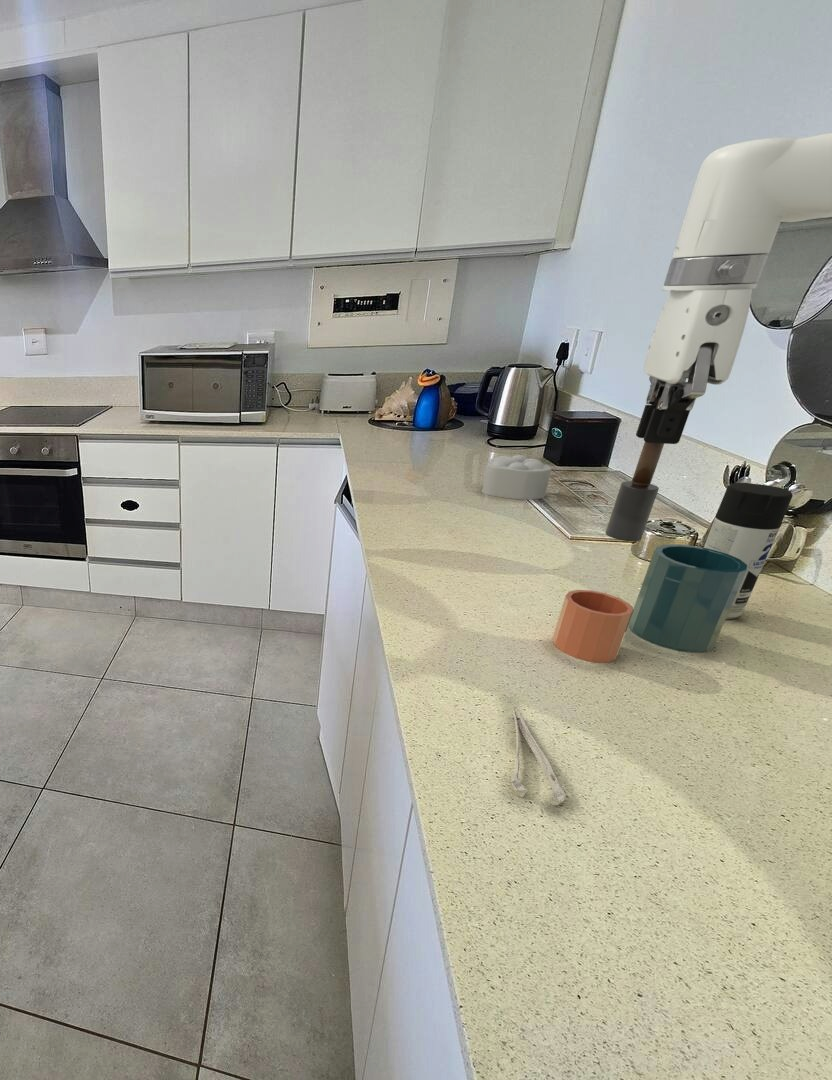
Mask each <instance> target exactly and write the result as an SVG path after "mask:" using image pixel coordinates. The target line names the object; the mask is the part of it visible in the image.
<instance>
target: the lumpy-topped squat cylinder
mask: <svg viewBox="0 0 832 1080" xmlns="http://www.w3.org/2000/svg"><path fill="white" fill-rule="evenodd" d="M552 471H553V469H552V467H551V466H549V465H548V464H544V463H543V462H542V461H541V460H540V459H537V458H528V457H526V456H524V455H522V454H515V455H513V456H508V455H498V456H496V457H493V458H489V460H488V463H487V465H486V470H485V475H484V480H483V484H482V488H481V493H482V494H483V495H484V494H485V495H487V496H492V497H496V498H497V497H498V498H504V499H512V500H523V501H525V500H530V501H531V500H539V499H540V500H541V499H544V498H545V497H546V494H547V490H548V485H549V481H550V477H551V474H552Z"/></svg>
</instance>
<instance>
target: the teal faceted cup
mask: <svg viewBox="0 0 832 1080" xmlns="http://www.w3.org/2000/svg"><path fill="white" fill-rule="evenodd" d="M746 571H747V564H745V563H744V562H743V561H742V560H740V559H738V558H736V557H734V556H731V555H729V554H726V553H722V552H719V551H715V550H712V549H708V548H704V547H703V546H698V545H697V546H696V545H690V544H689V545H688V544H679V543H678V544H673V543H672V544H661V545H658V546H655V548H654V551H653V554H652V556H651V558H650V561H649V564H648V567H647V570H646V573H645V575H644V578H643V581H642V583H641V586H640V590H639V593H638V595H637V597H636V601H635V604H634V606H633V609H634V611H633V614H632V616H631V619H630V622H629V625H628V629H629V630H630V631H631V633H633V634H634V635H635V636H636V637H638V638H640V639H642V640H643V641H645V642H648V643H650V644H653V645H656V646H659V647H662V648H664V649H667V650H668V649H669V650H672V651H677V652H683V653H694V654H699V653H706V652H710V651H711V650H713V648H714V647H715V645H716V643H717V640H718V638H719V636H720V633H721V631H722V629H723V626H724V624H725V621H726V620H727V619H726V617H727V615H728V613H729V610H730V608H731V606H732V603H733V601H734V599H735V597H736V594H737V592H738V590H739V587H740V585H741V583H742V580H743V578H744V576H745V574H746Z"/></svg>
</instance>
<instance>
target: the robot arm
mask: <svg viewBox="0 0 832 1080" xmlns="http://www.w3.org/2000/svg"><path fill="white" fill-rule="evenodd" d="M824 218H832V132H830V133H829V132H828V133H824V134H818V135H812V136H811V135H810V136H805V137H793V136H783V137H782V136H780V137H766V138H759V139H753V140H746V141H741V142H737V143H733V144H728V145H725V146H722V147H720V148H717V149H715V150H714V151H712V152H711V153H710V154H708V155H707V156H706V158H704V159H703V162H702V163H701V165H700V168H699V171H698V173H697V177H696V180H695V183H694V187H693V189H692V193H691V195H690V198H689V202H688V206H687V209H686V211H685V215H684V218H683V222H682V225H681V228H680V232H679V234H678V237H677V240H676V244H675V248H674V251H673V253H672V256H671V261H670V264H669V267H668V270H667V273H666V276H665V280H664V282H663V283H664V284H663V286H662V288H661V291H662V292H669V293H668V295H667V297H666V300H665V302H664V305H663V307H662V310H661V312H660V315H659V318H658V320H657V323H656V326H655V328H654V331H653V334H652V337H651V340H650V343H649V344H648V345H649V346H648V349H647V352H646V355H645V359H644V364H643V371H644V373H645V374H646V375H647V376H649V377H648V378H649V379H648V380H649V383H650V386H649V390H648V393H647V397H646V399H645V405H644V408H643V411H642V413H641V414H642V415H641V417H640V420H639V422H638V423H639V424H638V427H637V429H636V433H635V436H636V437H637V438H639V439H643V442H644V443H645V442H647V443H662V444H664V445H677V444H678V443H680V441H681V438H682V435H683V432H684V430H685V427H686V423H687V421H688V418H689V415H690V412H691V411H692V410H693V408H694V405H695V403H696V401H697V399H698V398H700V397H703V396H705V393H706V392H707V385H708V384H710V385H717V386H718V385H719V386H720V385H722V384H723V383H725V382H726V381H727V380H728V379H729V378H730V375H731V372H732V369H733V366H734V363H735V361H736V358H737V354H738V351H739V347H740V345H741V341H742V337H743V335H744V331H745V327H746V324H747V319H748V315H749V312H750V307H751V301H752V293H753V289H757V287H758V283H759V282H760V279H761V276H762V274H763V271H764V268H765V265H766V264H767V260H768V258H769V254H770V252H771V249H772V247H773V244H774V241H775V238H776V236H777V233H778V230H779V228H780V225H781V223H797V222H803V221H804V222H805V221H810V220H817V219H824ZM660 398H661V399H660ZM659 399H660V402H659V406H658V409H656V407H657V404H658V401H659Z"/></svg>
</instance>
